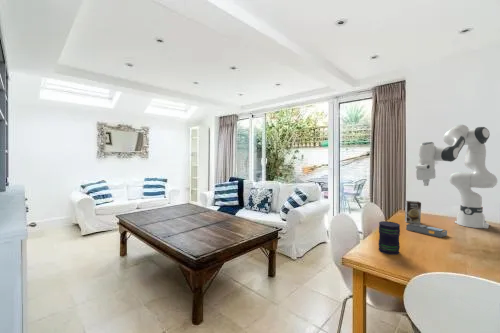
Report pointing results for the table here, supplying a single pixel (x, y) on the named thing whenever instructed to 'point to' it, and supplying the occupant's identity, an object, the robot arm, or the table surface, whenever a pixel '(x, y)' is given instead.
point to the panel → (434, 229)
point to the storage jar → (389, 237)
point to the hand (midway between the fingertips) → (426, 185)
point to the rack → (425, 230)
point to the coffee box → (413, 212)
